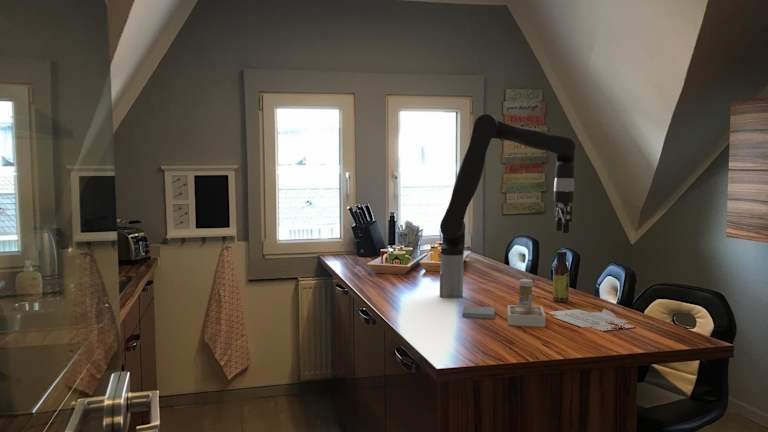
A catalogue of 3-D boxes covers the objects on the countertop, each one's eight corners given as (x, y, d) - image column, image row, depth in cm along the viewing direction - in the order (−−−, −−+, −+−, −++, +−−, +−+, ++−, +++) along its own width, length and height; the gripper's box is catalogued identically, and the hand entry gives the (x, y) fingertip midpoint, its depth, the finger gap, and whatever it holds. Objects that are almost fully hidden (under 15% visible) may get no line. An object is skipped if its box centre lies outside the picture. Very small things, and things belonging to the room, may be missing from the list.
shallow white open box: (507, 324, 201) (508, 314, 201) (507, 314, 215) (507, 304, 215) (545, 327, 199) (545, 316, 198) (541, 316, 213) (542, 306, 213)
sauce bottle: (569, 303, 236) (571, 252, 234) (552, 302, 237) (554, 252, 236) (567, 299, 242) (569, 250, 241) (551, 298, 243) (553, 249, 242)
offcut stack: (512, 324, 202) (512, 310, 202) (511, 321, 207) (511, 307, 207) (539, 326, 200) (540, 311, 200) (538, 322, 205) (538, 308, 205)
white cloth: (594, 334, 192) (594, 323, 192) (540, 318, 218) (540, 307, 218) (643, 329, 200) (644, 317, 200) (585, 313, 226) (585, 303, 226)
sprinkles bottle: (516, 318, 210) (516, 280, 209) (522, 315, 214) (523, 278, 213) (528, 320, 207) (529, 281, 206) (534, 318, 211) (535, 279, 210)
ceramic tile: (462, 316, 211) (462, 312, 211) (464, 309, 222) (464, 305, 222) (494, 318, 209) (494, 314, 209) (494, 311, 220) (494, 307, 220)
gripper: (549, 189, 240) (547, 229, 241) (559, 190, 226) (558, 233, 227) (567, 189, 240) (566, 230, 241) (579, 190, 226) (577, 234, 227)
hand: (562, 231), depth 234 cm, fingers open, 8 cm apart
